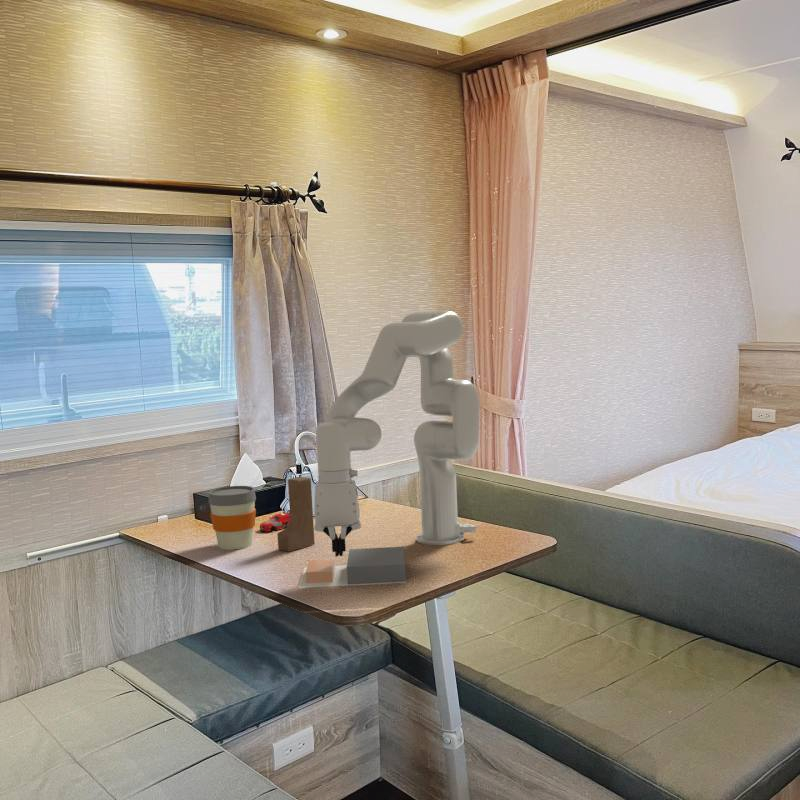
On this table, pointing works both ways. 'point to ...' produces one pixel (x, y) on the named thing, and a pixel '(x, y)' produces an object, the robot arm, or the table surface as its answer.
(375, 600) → the table surface
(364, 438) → the robot arm
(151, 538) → the table surface
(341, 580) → the mat
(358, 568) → the grey flat block
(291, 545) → the wooden block
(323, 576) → the tile
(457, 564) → the table surface
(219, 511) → the reusable coffee cup
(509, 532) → the table surface
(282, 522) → the race car
